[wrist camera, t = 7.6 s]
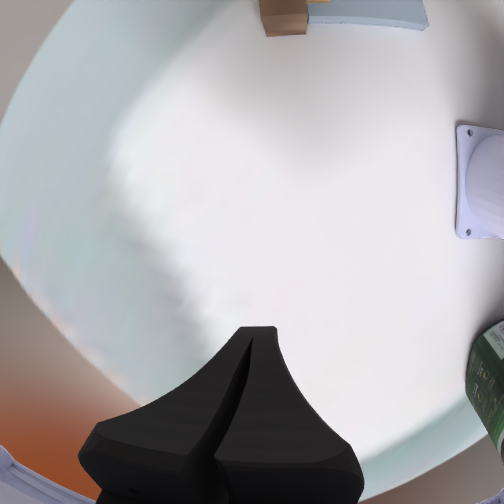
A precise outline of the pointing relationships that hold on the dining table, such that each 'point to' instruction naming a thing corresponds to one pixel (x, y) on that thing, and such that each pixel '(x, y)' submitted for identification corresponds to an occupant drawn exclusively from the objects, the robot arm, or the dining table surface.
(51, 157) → the dining table surface
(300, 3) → the brown long block
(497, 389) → the coffee jar
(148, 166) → the dining table surface
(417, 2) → the door panel
